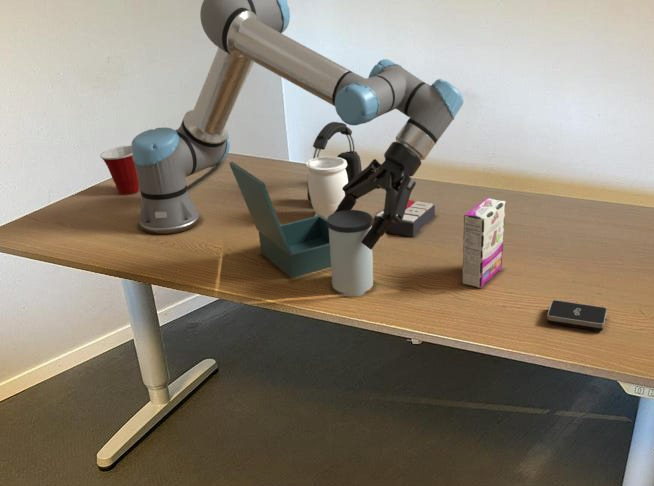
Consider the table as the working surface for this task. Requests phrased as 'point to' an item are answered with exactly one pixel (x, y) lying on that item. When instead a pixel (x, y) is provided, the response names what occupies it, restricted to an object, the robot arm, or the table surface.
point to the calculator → (412, 218)
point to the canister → (350, 252)
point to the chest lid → (260, 206)
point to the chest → (301, 247)
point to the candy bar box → (483, 242)
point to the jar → (326, 184)
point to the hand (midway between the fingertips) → (349, 235)
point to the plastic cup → (122, 169)
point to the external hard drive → (577, 315)
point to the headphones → (350, 157)
